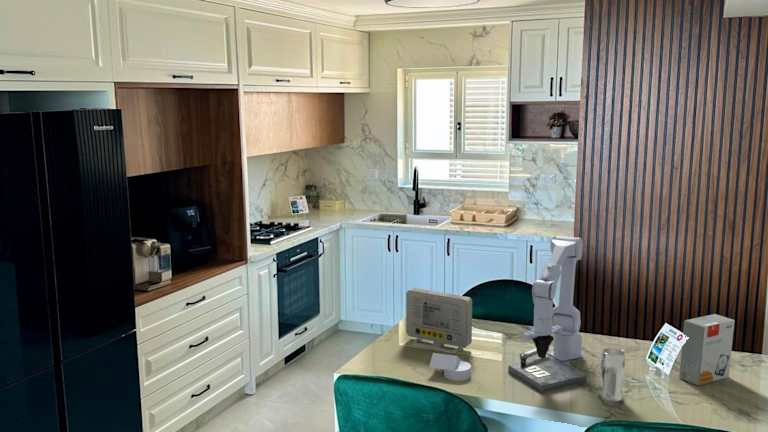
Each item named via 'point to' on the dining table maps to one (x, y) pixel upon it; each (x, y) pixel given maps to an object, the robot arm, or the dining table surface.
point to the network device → (439, 319)
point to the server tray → (547, 374)
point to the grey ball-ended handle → (528, 354)
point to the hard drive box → (706, 349)
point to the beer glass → (612, 373)
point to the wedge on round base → (451, 366)
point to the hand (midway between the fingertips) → (541, 357)
